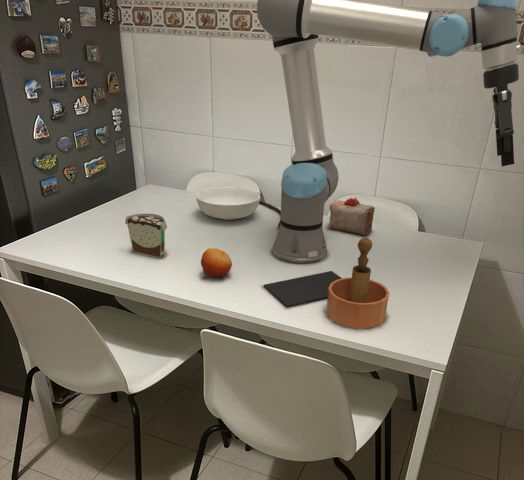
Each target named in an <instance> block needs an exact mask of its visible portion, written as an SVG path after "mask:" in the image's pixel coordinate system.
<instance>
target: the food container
mask: <svg viewBox="0 0 524 480" xmlns="http://www.w3.org/2000/svg"><path fill="white" fill-rule="evenodd" d="M124 222H125V223H124V224H125V225H127V229H128V234H129V239H130V245H131V248H132V253H134V254H139V255H144V256H148V257H153V258H158V259H163V258H164V257H165V244H166V243H165V242H166V241H165V239H166V236H165V232H166V230H167V229H168V225H167V222H166V220H165V217H163V216H162V215H160V214H155V213H148V212H147V213H145V212H144V213H133V214H130V215H127V216H126V217H125V220H124Z"/></svg>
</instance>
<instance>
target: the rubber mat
mask: <svg viewBox="0 0 524 480" xmlns="http://www.w3.org/2000/svg"><path fill="white" fill-rule="evenodd" d="M342 278H343V277H341V276H339V275H338V274H337V273H335V272H334V271H332V270H329V271H324V272H319V273H314V274H309V275H304V276H300V277H299V276H298V277H295V278H290V279H285V280H280V281H275V282H271V283H265V284H263V288H264V289H265V290H266V291H268V292H269V293H270V294H271V295H272V296H273V297H274V298H275V299H276V300H278V301H279V302H280V303H281V304H282V306H284V307H285V308H287V309H288V308H292V307H296V306H297V307H298V306H301V305H305V304H309V303H314V302H318V301H322V300H327V298H328V288H329V286H330V284H331V283H332V282H334V281H336V280H338V279H342Z"/></svg>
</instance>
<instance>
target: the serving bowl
mask: <svg viewBox="0 0 524 480" xmlns="http://www.w3.org/2000/svg"><path fill="white" fill-rule="evenodd" d="M195 199H196V204H197V206H198V208H199V209H200V210H201V211H202V212H203V213H204V214H205V215H207V216H209V217H212V218H214V219H218V220H219V219H220V220H226V221H227V220H228V221H229V220H232V221H233V220H238V219H242V218H243V219H244V218H247V217H248V216H250V215H251V214H253V213H254V212H255V211H256V210H257V209H258V207H259V204H260V203H259V201H261V194H260V193H259V194H258V193H257V191H255V190H252V189H250V188H245V187H239V186H212V187H208V188H204V189H202V190H199V191H198V192H197V193H196V194H195Z"/></svg>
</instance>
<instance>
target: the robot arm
mask: <svg viewBox="0 0 524 480" xmlns="http://www.w3.org/2000/svg"><path fill="white" fill-rule="evenodd" d="M256 3H257V4H256V14H257V18H258V21H259V24H260V26H261V27H262V29H263V30H264V31H265V32H266V33H267V34H268V35H270V36H271V39H272V46H273V50H274V51H275V52H276V53H278V54H279V56H280V58H281V65H282V71H283V78H284V84H285V85H284V86H285V91H286V96H287V104H288V105H287V106H288V111H289V117H290V124H291V130H292V137H293V144H294V151H295V152H294V153H293V155H292V156H291V158H290V159H291V160H290V161H291V165H289V166H287V167H286V168H285V169H284V171H283V172H282V178H281V181H280V183H281V184H280V187H281V192H280V193H281V194H280V195H281V198H280V208H278V207H276V206H274V205H272V204H270V203H267V202H265V201H262V200H260V201H259V204H261V205H262V206H265V207H268V208H271V209H273V210H274V211H276V212H278V213H279V214H280V221H279V222H278V224H277V227H278V231H277V233H276V236H275V238H274V241H273V245H272V254H273V256H275V258H277V259H279V260H281V261H284V262H287V263H292V264H311V263H316V262H319V261H322V260H324V259H325V258H326V257H327V253H328V252H327V251H328V247H327V242H326V238H325V234H324V230H323V223H324V211H325V204H326V202H327V201H329V198H331V196H332V195H333V194H334V193H335V191H336V189H337V187H338V183H339V177H340V176H339V170H338V167H337V165H336V164H335V163H334V156H333V150H332V149H331V148H329V147H328V146H327V143H326V136H325V127H324V120H323V119H324V118H323V111H322V104H321V103H322V101H321V96H320V88H319V80H318V71H317V70H318V69H317V63H316V55H315V47H316V45H317V43H319V40H320V39H319V38H320V37H319V36H322V37H329V38H336V39H342V40H348V41H355V42H361V43H366V44H374V45H380V46H386V47H392V48H399V49H405V50H411V51H418V52H423V53H426V55H427V56H428V57H430V58H431V57H437V56H440V57H447V58H448V57H451V56H454V55H456V54H458V53H459V52H460V51H461V50H462V49H465V48H468V47H471V46H475V45H478V44H480V47H481V51H480V52H481V53H480V54H481V68H482V70H485V71H483V73H482V78H483V87H484V89H488V90H489V89H493V94H492V96H491V98H492V99H491V100H492V103H493V111H494V127H495V141H496V156H497V157H500V162H501V163H500V164H501V167H506V166H512V165H515V153H514V152H515V149H514V133H515V130H514V124H513V122H514V121H513V111H512V107H513V104H512V103H513V102H512V98H513V92H512V91H511V90H510V89H509V87H508V85H510V84H513V83H516V82H517V81H519V78H520V76H519V75H520V74H519V73H520V72H519V71H520V69H519V64H518V63H516V62H517V61H518V60H519V55H518V54H519V53H518V51H520V50H521V45H520V44H518V25H517V24H518V23H517V2H516V0H477V5H475V6H473V7H471V8H468V9H464V10H461V11H457V12H454V13H453V12H443V11H434V10H429V9H423V8H422V9H421V8H414V7H408V6H400V5H395V4H387V3H380V2H373V1H366V0H257V2H256ZM256 192H257V191H256ZM257 193H258V192H257ZM258 194H259V195H260V192H259V193H258Z"/></svg>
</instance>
